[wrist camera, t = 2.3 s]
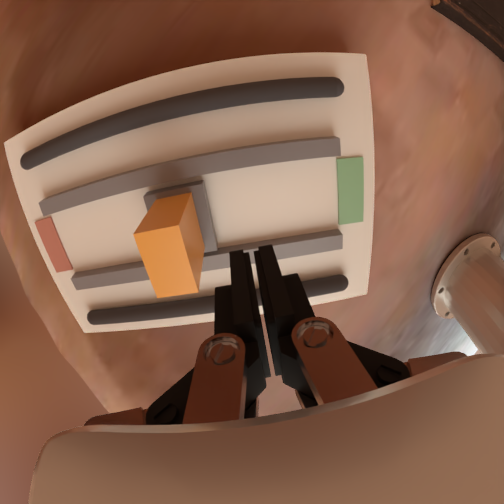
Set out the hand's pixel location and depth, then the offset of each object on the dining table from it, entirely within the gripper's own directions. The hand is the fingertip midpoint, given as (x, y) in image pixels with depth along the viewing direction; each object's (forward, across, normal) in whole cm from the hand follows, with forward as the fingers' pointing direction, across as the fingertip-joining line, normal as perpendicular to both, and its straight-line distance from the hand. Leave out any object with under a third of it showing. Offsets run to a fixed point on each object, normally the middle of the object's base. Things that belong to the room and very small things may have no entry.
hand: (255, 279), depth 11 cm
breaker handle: (+9, +4, 0) cm, 10 cm away
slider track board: (+12, +4, 0) cm, 13 cm away
